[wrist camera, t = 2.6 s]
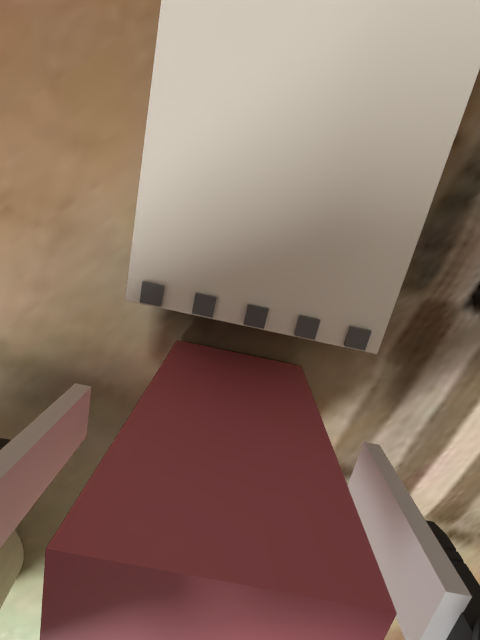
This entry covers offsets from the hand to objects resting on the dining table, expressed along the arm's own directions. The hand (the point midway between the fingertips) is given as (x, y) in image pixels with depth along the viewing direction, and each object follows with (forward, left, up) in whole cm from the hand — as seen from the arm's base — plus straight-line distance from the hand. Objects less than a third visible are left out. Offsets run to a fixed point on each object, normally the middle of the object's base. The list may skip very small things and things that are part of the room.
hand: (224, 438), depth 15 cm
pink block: (0, 0, -4) cm, 4 cm away
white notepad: (-14, 0, -4) cm, 14 cm away
